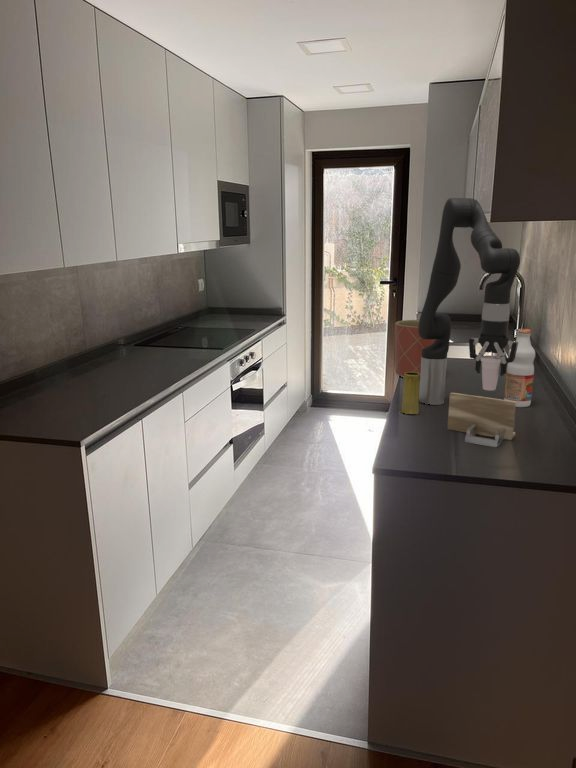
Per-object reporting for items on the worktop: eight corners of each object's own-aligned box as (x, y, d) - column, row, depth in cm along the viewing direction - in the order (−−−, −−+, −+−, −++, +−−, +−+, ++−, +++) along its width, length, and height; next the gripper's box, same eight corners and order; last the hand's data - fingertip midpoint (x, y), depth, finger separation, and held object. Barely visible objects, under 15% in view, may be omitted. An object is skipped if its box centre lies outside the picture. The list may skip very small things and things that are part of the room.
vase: (416, 409, 213) (418, 371, 210) (420, 414, 207) (422, 375, 204) (399, 410, 213) (401, 371, 209) (403, 415, 207) (405, 375, 203)
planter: (441, 370, 275) (444, 320, 269) (448, 382, 253) (452, 327, 247) (391, 369, 277) (393, 319, 271) (394, 380, 255) (397, 326, 250)
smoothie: (479, 391, 175) (483, 344, 172) (476, 385, 182) (480, 341, 178) (502, 392, 174) (506, 345, 171) (498, 386, 181) (502, 341, 177)
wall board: (452, 424, 196) (454, 389, 193) (515, 435, 186) (518, 398, 183) (447, 429, 192) (449, 393, 189) (511, 440, 182) (515, 402, 179)
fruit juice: (501, 400, 225) (508, 327, 218) (527, 401, 224) (535, 328, 217) (505, 407, 216) (512, 331, 210) (532, 408, 215) (540, 332, 208)
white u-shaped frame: (473, 433, 188) (473, 423, 187) (504, 438, 183) (505, 428, 182) (464, 441, 180) (465, 430, 179) (497, 447, 175) (498, 436, 175)
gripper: (523, 318, 172) (518, 374, 176) (473, 315, 180) (469, 368, 184) (518, 321, 166) (512, 379, 170) (467, 318, 173) (462, 373, 178)
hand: (490, 373), depth 177 cm, fingers closed on smoothie, 6 cm apart
